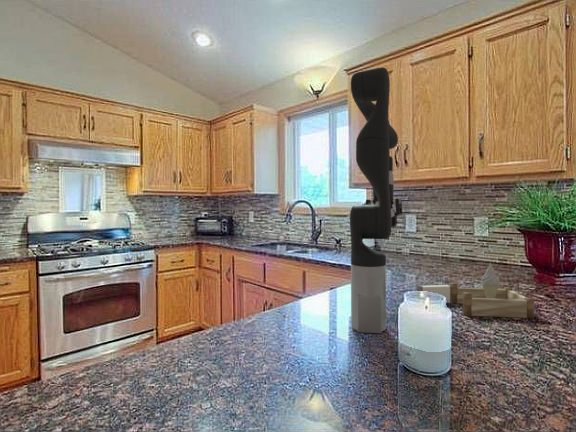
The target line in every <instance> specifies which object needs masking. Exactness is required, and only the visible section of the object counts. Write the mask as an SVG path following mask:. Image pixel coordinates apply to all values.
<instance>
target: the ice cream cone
mask: <svg viewBox="0 0 576 432" xmlns="http://www.w3.org/2000/svg"><path fill="white" fill-rule="evenodd" d="M481 284H482V288H483V289H484V293H485V296H486V298H494V299H495V296H496V293H497V290H498V289H499V286H500V278H499V276H498V274H496V270H495V269H494V267H493V265H492V263H491V262H490V263H489V265H488V267H487V268H486V270H485V273H484V275H482V276H481Z"/></svg>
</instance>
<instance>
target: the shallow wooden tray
mask: <svg viewBox="0 0 576 432" xmlns="http://www.w3.org/2000/svg"><path fill="white" fill-rule="evenodd" d="M458 285H459V284H458V282H450V283H449V286H450V301H449V303H450V304H462V315H463V316H466V317H471V316H472V317H473V316H475V317H477V316H478V317H496V318H497V317H499V318H500V317H501V318H523V319H524V318H525V319H526V318H527V319H535V298H534V297H527V296H524V295H522V294H521V293H519V292H517V291H514V290H513V287H510V286H509V287H508V286H504V287H503V288H498V290H497V293H496V296H495V299H494V298H486V296H485V293H484V289H483V287H459V286H458Z"/></svg>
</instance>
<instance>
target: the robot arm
mask: <svg viewBox="0 0 576 432" xmlns="http://www.w3.org/2000/svg"><path fill="white" fill-rule="evenodd" d="M390 84H391V83H390V75H389V71H388V70H387V68H386V67H376V68H370V69H365V70H360V71H357V72H355V73H353V74H352V75H351V78H350V93H351V95H352V99H353V101H354V103H355V105H356V106H357V107H358V110H359V111H360V112H361V115H362V116H363V117H364V118H365V121H366V122H365V123H364V125H363V126H362V128H361V130H360V131H359V133H358V135H357V137H356V143H355V144H356V145H355V161H356V164H357V166H358V169H359V170H360V172H361V173H362V174H363V175H364V177H365V178H366V180H367V181H368V183H369V184H370V185H371V188H372V197H373V198H372V199H366V200H365V204H355V205H352V206H351V209H350V213H349V230H350V231H349V232H350V249H351V250H350V318H351V319H350V322H351V323H350V325H351V326H350V327H351V329H353V330H354V331H356V332H357V333H368V334H382V333H383V332H384V331H386V330H387V256H386V254H385V253H383V252H381V251H378V250H376V249H372V248H371V247H369V246H367V245H366V244H365V243H364V241H363V240H387V239H389V238H390V236H391V234H392V228H396V226H397V225H398V216H402V215H403V202H402V199H401V198H395V199H394V196H395V195H394V186H395V185H394V184H395V183H394V182H395V181H394V166H393V165H394V163H393V162H394V160H393V159H394V158H393V157H392V156H391V154H390V150H392V149H395V147H397V146H398V142H399V137H398V133H397V132H396V130H395V129H394V127H392V126H391V124H390V121H389V110H390V106H389V105H390V86H391V85H390ZM374 102H375V103H374ZM393 205H395V208H394V206H393Z"/></svg>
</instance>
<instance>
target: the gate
mask: <svg viewBox="0 0 576 432" xmlns="http://www.w3.org/2000/svg"><path fill="white" fill-rule="evenodd" d="M417 291H428V292H433V293H438V294H441V295H443V296H445V297H446V299H447V301H446V302H450V285H448V284H441V285H440V284H439V285H437V284H436V285H434V284H433V285H420V284H417V285H416V292H417Z"/></svg>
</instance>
